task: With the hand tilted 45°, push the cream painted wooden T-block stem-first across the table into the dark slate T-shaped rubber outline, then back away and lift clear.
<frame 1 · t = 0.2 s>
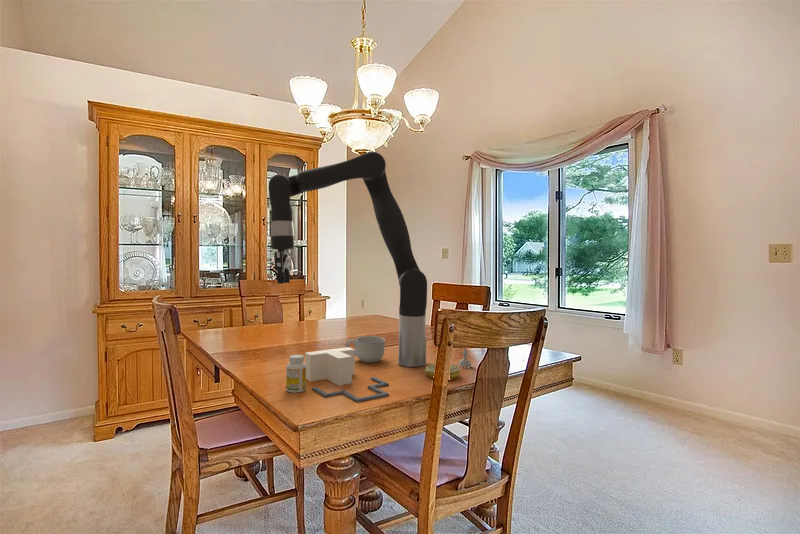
hand: (283, 283, 151), 28 cm above the table, tool pointing down, fingers open, 8 cm apart
decorated donut: (442, 377, 141), on the table
t outline: (357, 390, 126), on the table
grey tall turned piece: (464, 367, 154), on the table
t block: (335, 379, 136), on the table
teacup: (365, 361, 161), on the table
supplement bottle: (296, 390, 125), on the table
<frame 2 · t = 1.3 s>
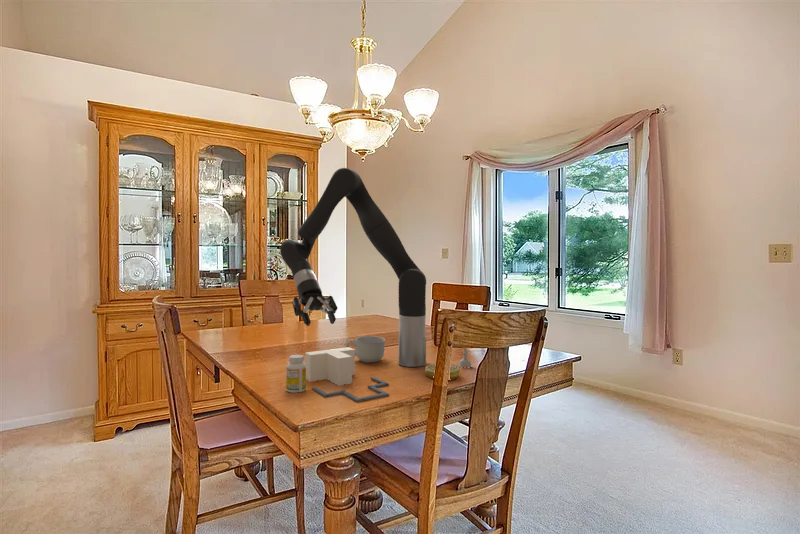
hand: (321, 323, 145), 16 cm above the table, tool tilted 45°, fingers open, 8 cm apart
nothing on the table moved.
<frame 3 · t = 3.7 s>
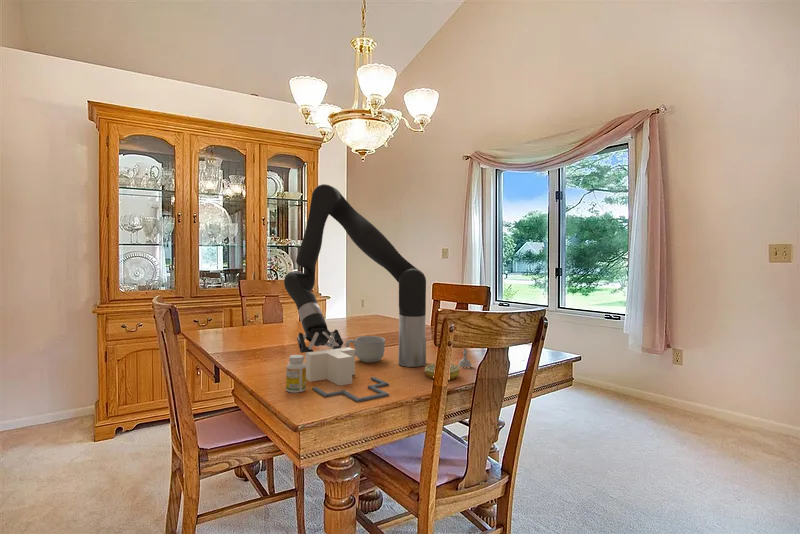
hand: (326, 360, 142), 5 cm above the table, tool tilted 45°, fingers open, 8 cm apart
t block: (336, 379, 136), on the table, touching gripper
everything else where it was.
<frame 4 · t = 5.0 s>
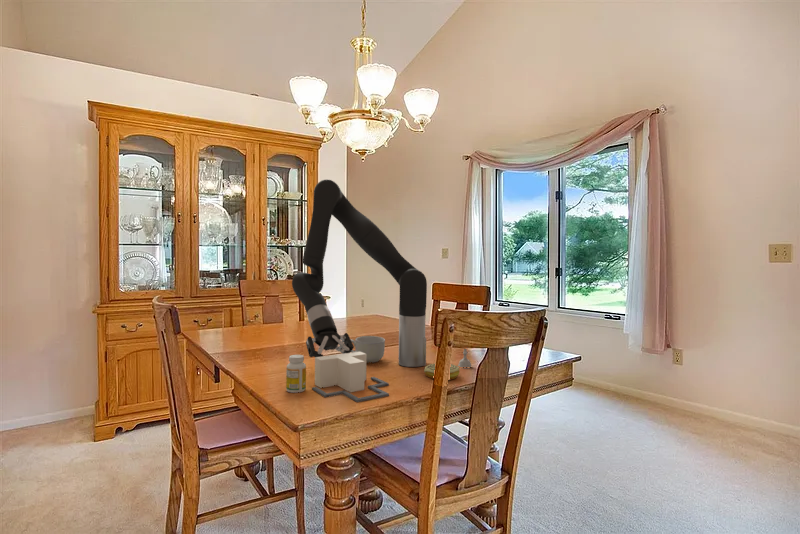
hand: (337, 365, 135), 5 cm above the table, tool tilted 45°
t block: (347, 385, 130), on the table, touching gripper
everything else where it was.
when the fingers open (5 cm above the table, at t = 6.1 s): t block stays where it is, on the table.
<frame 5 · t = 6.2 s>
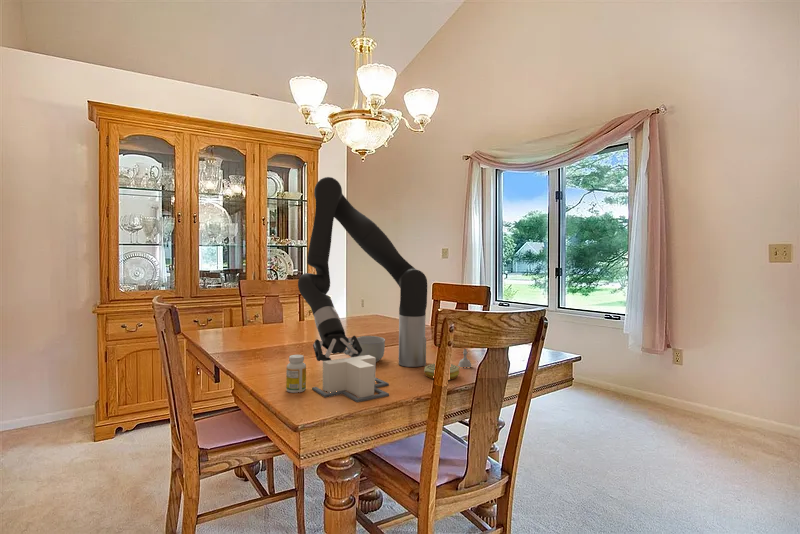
hand: (345, 369, 131), 5 cm above the table, tool tilted 45°, fingers open, 8 cm apart
t block: (356, 390, 126), on the table, touching gripper
everything else where it was.
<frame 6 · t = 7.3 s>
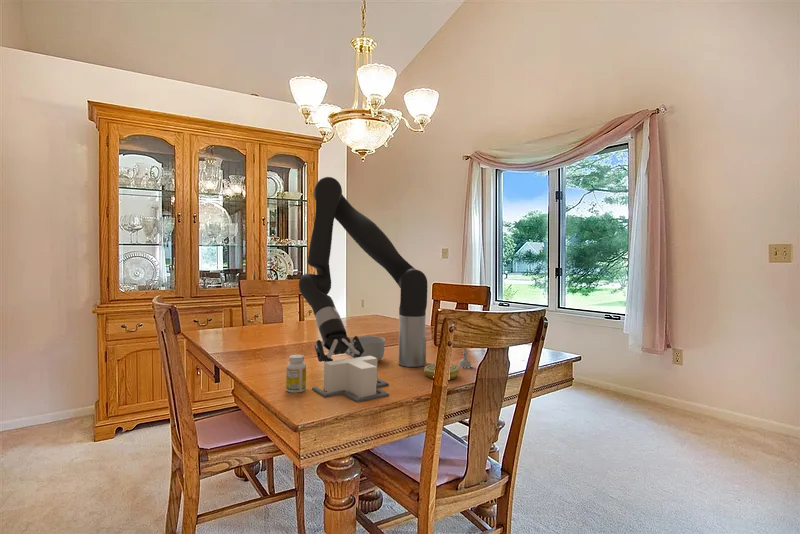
hand: (347, 369, 130), 5 cm above the table, tool tilted 45°, fingers open, 8 cm apart
t block: (358, 391, 125), on the table
everything else where it was.
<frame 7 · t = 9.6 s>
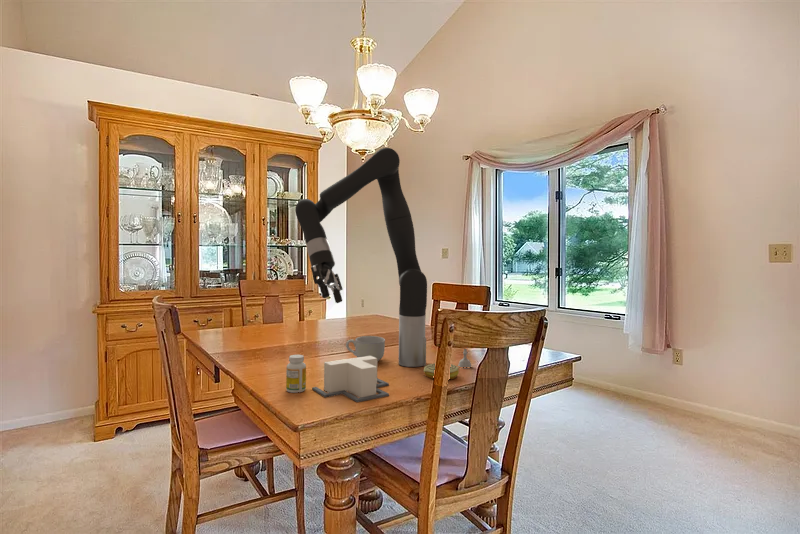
hand: (333, 299, 141), 24 cm above the table, tool tilted 30°, fingers open, 8 cm apart
nothing on the table moved.
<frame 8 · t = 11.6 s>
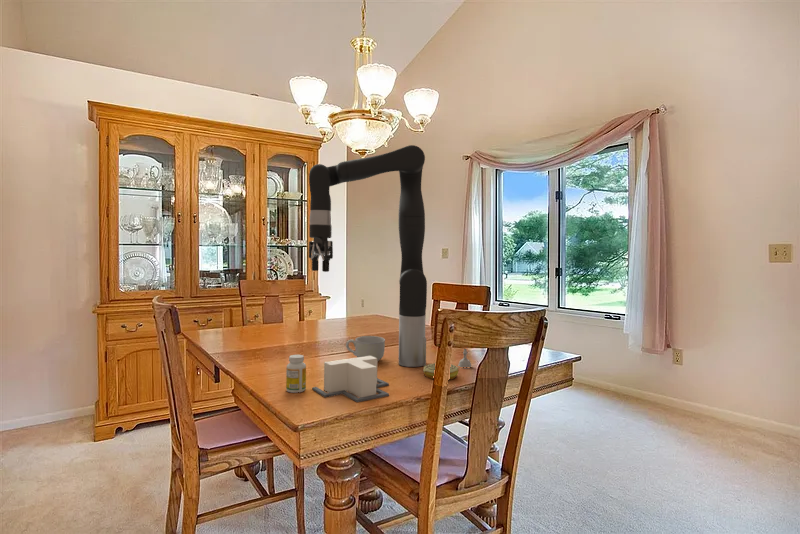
hand: (320, 271, 155), 32 cm above the table, tool pointing down, fingers open, 8 cm apart
nothing on the table moved.
at the end: t block 0.9 cm from the t outline (horizontally); t block tilted 0°; t block moved 13.9 cm from its start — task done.
